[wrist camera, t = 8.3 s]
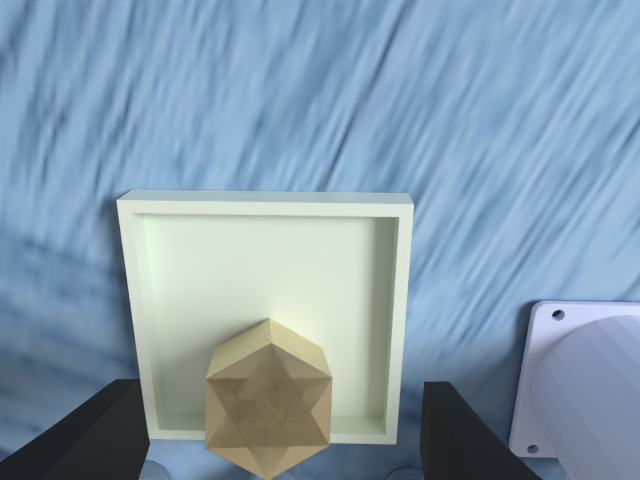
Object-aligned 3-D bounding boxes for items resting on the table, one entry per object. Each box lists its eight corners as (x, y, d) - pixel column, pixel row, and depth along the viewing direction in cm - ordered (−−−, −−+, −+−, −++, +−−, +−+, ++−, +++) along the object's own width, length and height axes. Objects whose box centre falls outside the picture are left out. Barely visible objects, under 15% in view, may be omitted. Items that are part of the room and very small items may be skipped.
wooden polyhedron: (323, 318, 22) (334, 342, 19) (318, 434, 23) (328, 478, 19) (215, 317, 21) (206, 342, 18) (213, 436, 22) (204, 482, 19)
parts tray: (407, 193, 20) (413, 204, 19) (392, 419, 24) (396, 444, 22) (132, 189, 20) (116, 200, 19) (159, 414, 24) (148, 438, 23)
